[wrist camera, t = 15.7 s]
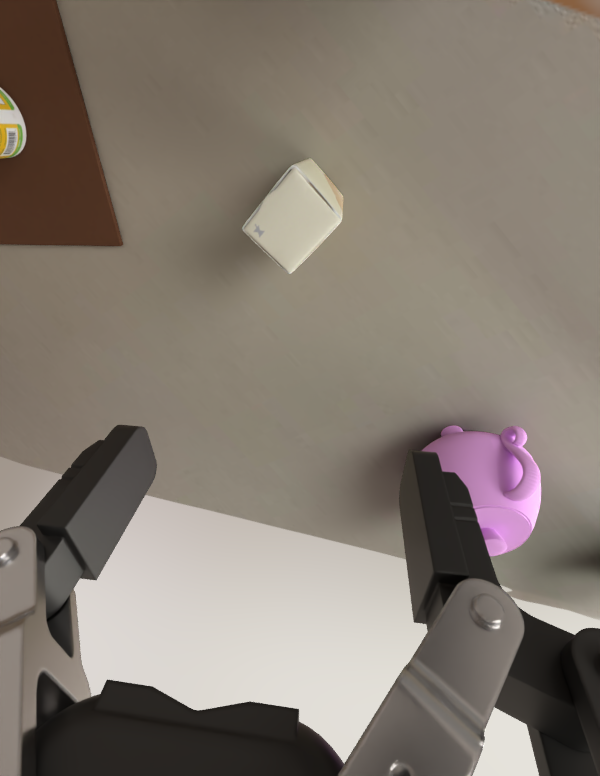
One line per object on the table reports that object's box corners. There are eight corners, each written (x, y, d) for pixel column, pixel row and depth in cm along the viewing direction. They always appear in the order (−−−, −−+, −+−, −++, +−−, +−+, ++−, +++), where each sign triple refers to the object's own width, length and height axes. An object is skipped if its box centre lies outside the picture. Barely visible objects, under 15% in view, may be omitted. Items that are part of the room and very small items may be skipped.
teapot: (463, 522, 53) (489, 614, 43) (372, 493, 52) (377, 581, 42) (562, 424, 42) (630, 518, 32) (448, 384, 41) (481, 468, 30)
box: (303, 240, 34) (286, 280, 25) (268, 203, 32) (236, 231, 23) (347, 194, 31) (344, 220, 22) (311, 152, 30) (293, 161, 21)
